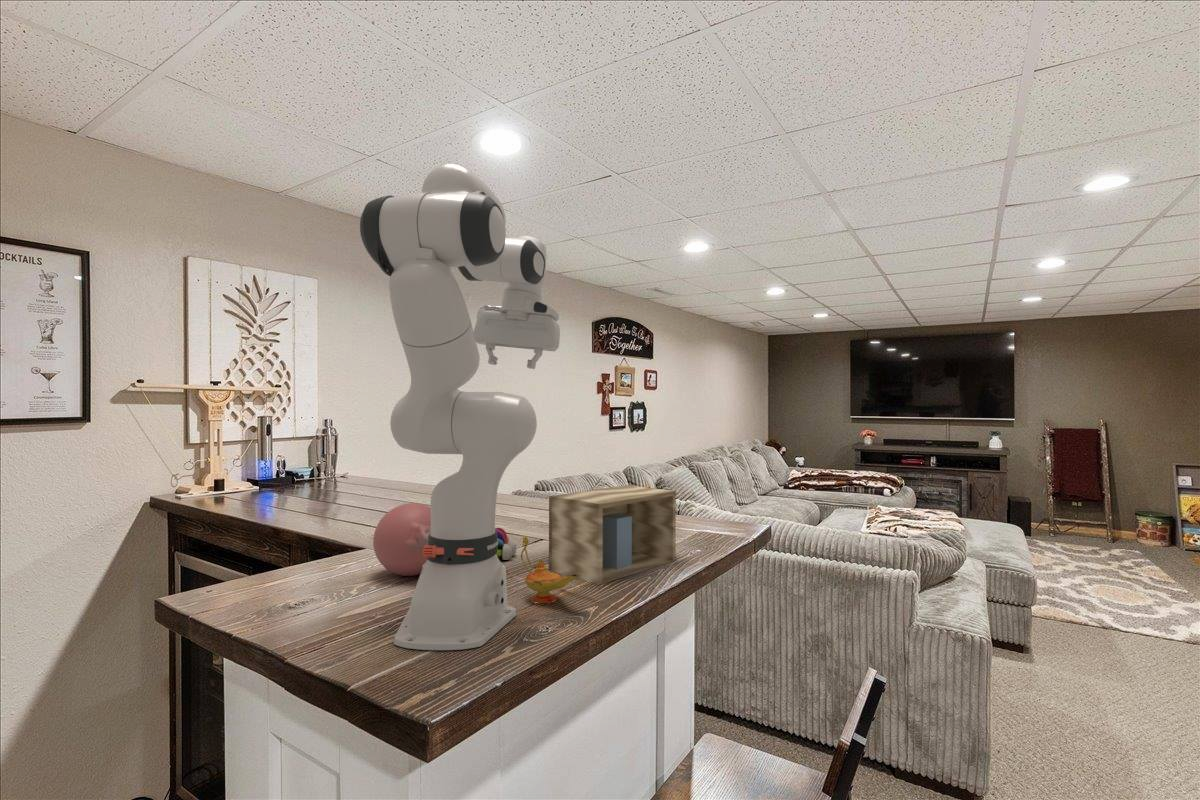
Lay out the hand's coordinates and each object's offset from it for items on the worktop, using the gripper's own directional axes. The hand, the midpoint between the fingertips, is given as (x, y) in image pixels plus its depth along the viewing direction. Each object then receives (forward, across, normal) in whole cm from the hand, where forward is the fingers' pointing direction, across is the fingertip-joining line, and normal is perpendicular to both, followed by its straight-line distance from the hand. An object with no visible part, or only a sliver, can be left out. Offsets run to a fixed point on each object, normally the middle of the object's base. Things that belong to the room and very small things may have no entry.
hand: (511, 366), depth 135 cm
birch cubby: (+42, +29, +8) cm, 52 cm away
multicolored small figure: (+45, -1, +12) cm, 47 cm away
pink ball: (+49, -12, -6) cm, 51 cm away
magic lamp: (+46, +21, -16) cm, 53 cm away
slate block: (+41, +29, +8) cm, 51 cm away
